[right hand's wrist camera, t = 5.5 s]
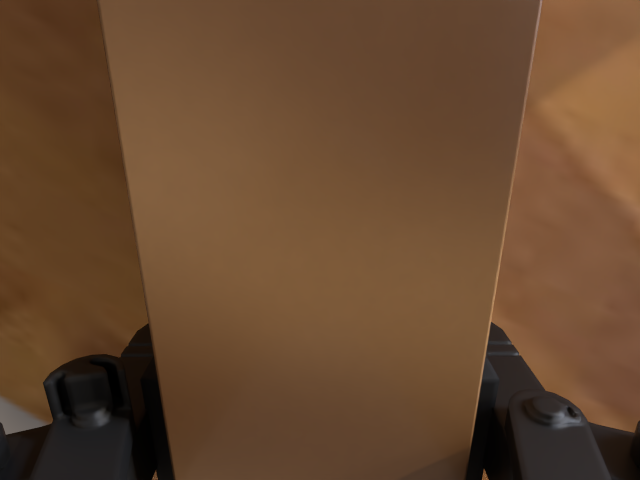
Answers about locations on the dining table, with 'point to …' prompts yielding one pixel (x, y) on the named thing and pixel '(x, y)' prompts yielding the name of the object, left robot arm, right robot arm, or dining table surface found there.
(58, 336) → the dining table surface
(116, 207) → the dining table surface
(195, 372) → the post
